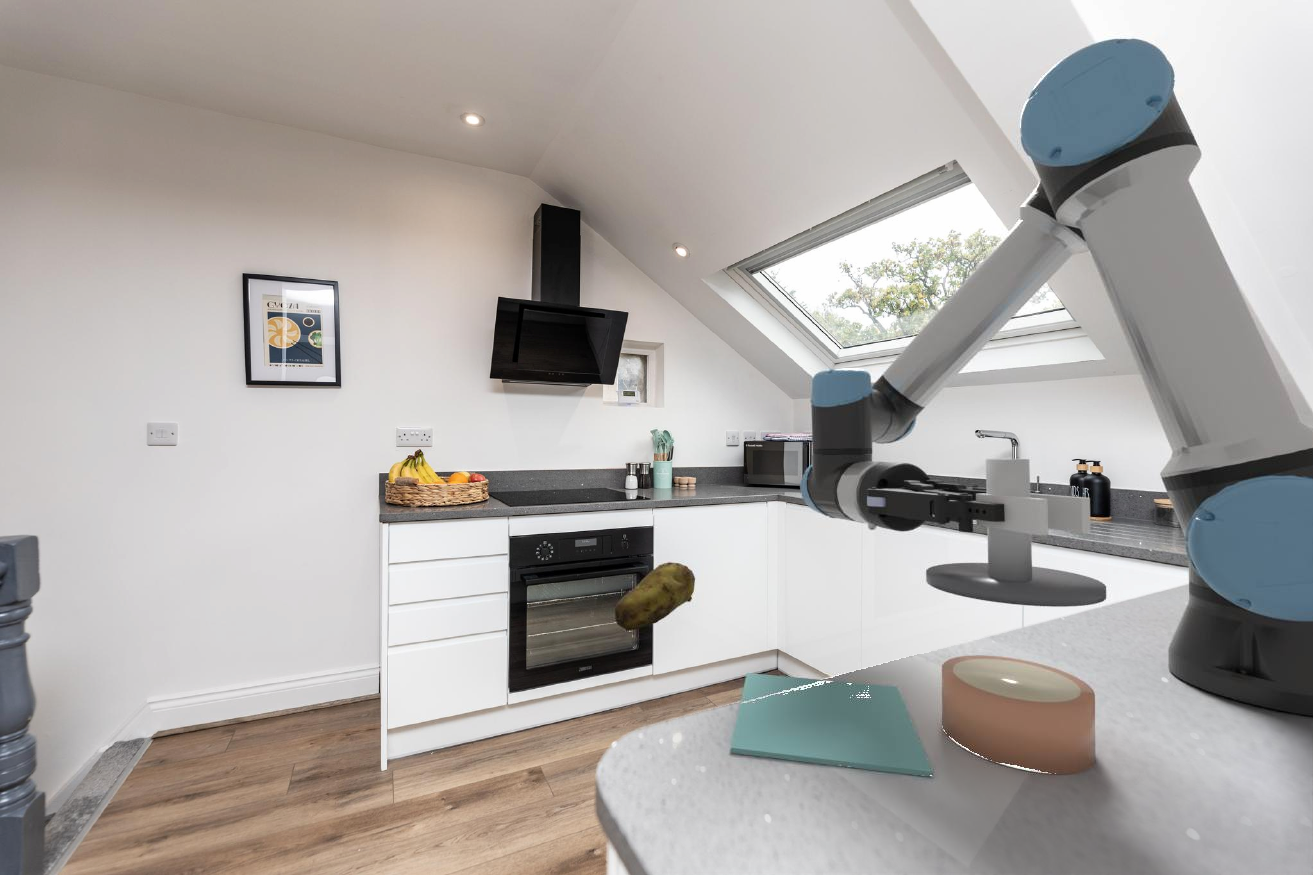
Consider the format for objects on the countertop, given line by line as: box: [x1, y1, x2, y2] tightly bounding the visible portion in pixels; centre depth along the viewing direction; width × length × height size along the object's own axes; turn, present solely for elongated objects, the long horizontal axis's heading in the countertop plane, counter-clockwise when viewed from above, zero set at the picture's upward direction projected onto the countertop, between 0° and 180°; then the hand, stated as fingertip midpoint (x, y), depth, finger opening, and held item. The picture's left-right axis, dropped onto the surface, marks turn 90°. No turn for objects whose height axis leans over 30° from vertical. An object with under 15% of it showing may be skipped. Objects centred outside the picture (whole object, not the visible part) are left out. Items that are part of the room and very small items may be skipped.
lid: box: [925, 458, 1107, 608], centre depth 50 cm, size 13×13×11 cm
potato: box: [614, 561, 696, 631], centre depth 82 cm, size 8×13×8 cm, turn 116°
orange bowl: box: [941, 654, 1096, 775], centre depth 50 cm, size 11×11×5 cm
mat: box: [730, 672, 934, 777], centre depth 53 cm, size 15×16×1 cm
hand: (1064, 516), depth 45 cm, fingers closed on lid, 3 cm apart
